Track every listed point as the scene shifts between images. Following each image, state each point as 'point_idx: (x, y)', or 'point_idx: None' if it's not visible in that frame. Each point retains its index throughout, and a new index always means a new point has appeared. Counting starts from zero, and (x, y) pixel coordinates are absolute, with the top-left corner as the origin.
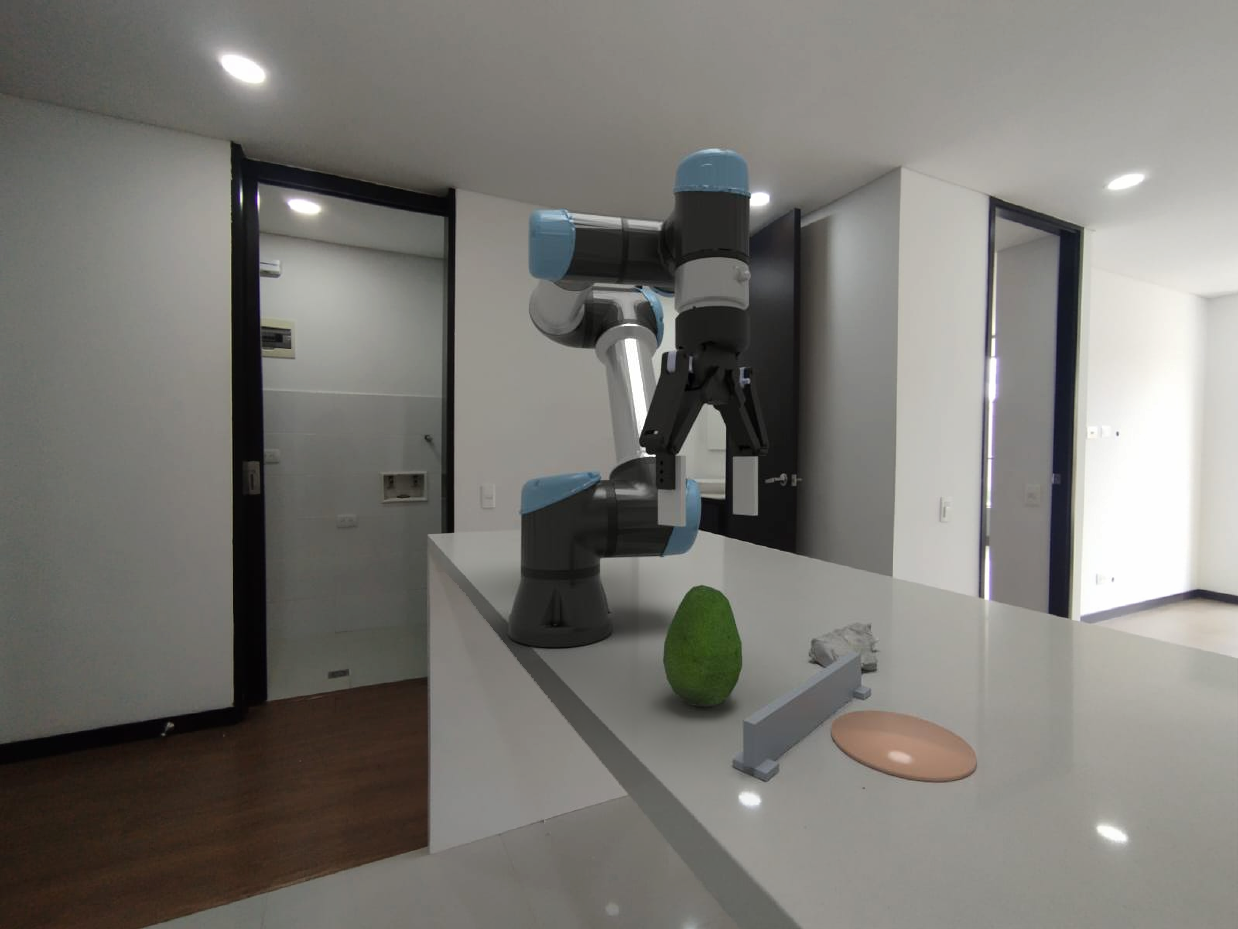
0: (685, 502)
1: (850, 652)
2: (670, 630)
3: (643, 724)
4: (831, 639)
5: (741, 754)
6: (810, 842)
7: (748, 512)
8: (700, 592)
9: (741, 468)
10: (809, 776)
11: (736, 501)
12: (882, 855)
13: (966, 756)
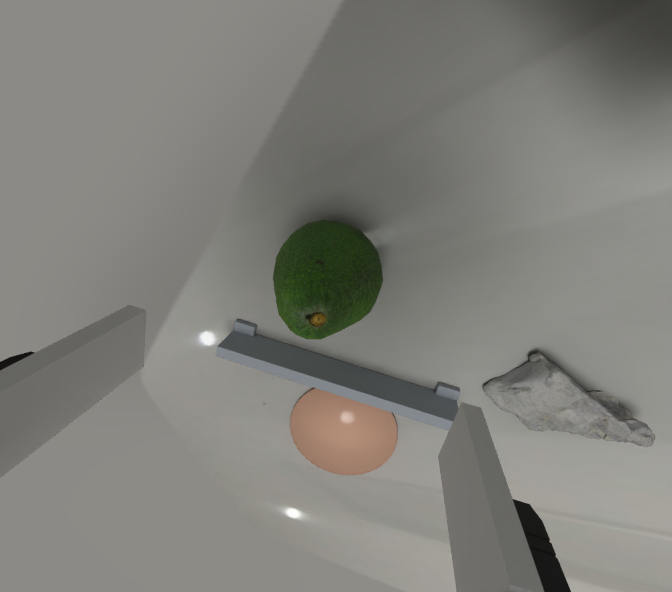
0: (105, 394)
1: None
2: (287, 247)
3: (259, 220)
4: (561, 391)
5: (245, 326)
6: (189, 377)
7: (444, 447)
8: (287, 308)
9: (478, 556)
10: (257, 371)
11: (464, 437)
12: (202, 411)
13: (338, 469)
